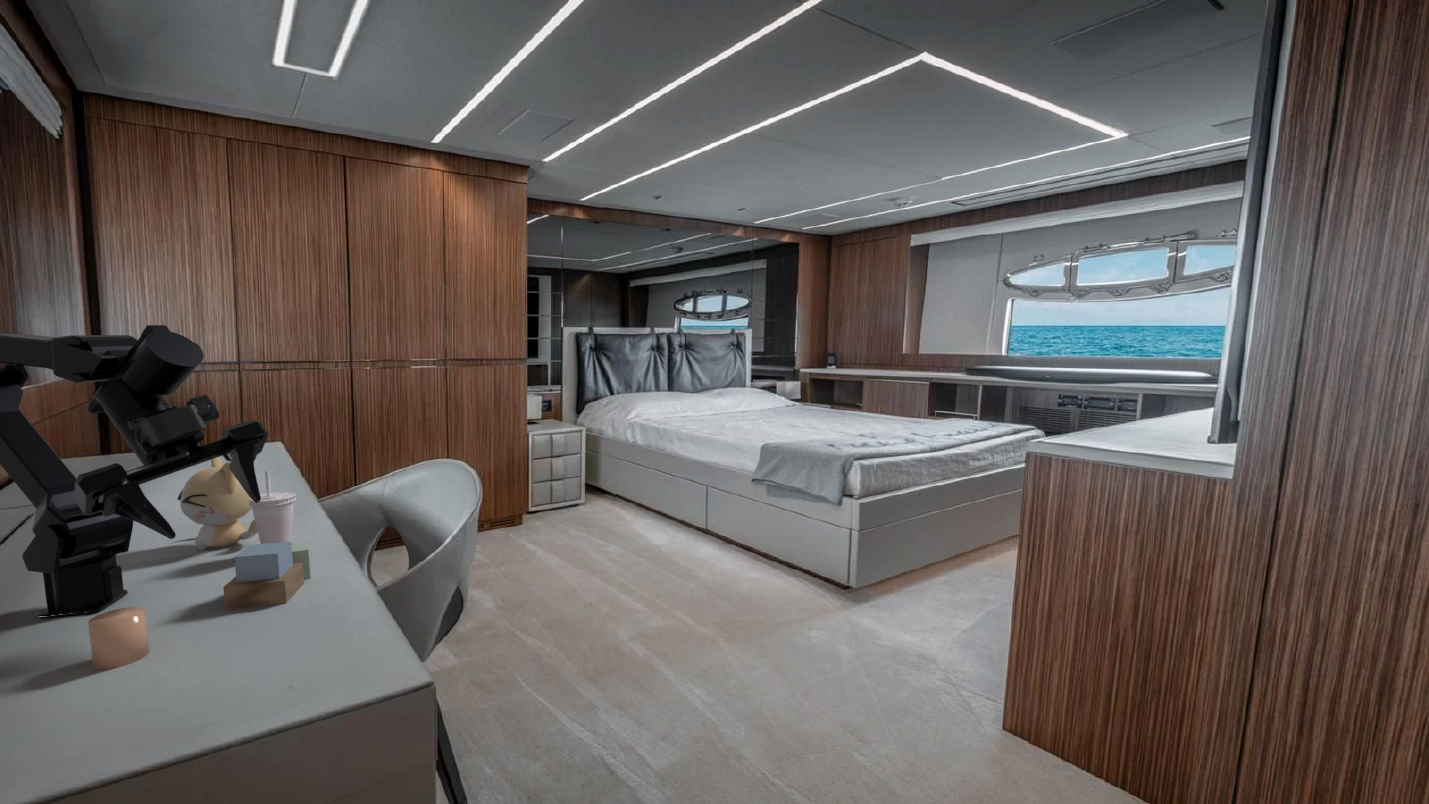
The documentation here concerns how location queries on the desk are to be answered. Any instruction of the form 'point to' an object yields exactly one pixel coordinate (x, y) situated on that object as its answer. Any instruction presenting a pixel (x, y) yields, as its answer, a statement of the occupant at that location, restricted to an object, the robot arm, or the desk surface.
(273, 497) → the smoothie
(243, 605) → the tower base
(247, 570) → the tower mid
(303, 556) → the block
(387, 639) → the desk surface
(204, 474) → the kitten
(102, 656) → the clay cylinder
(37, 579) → the desk surface
